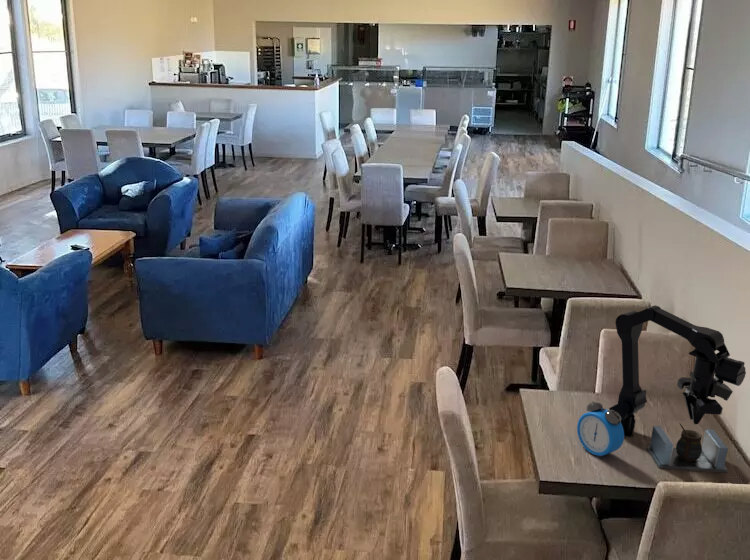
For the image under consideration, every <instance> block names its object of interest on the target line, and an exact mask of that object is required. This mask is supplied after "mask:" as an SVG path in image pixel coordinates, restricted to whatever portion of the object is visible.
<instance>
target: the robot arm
mask: <svg viewBox="0 0 750 560" xmlns="http://www.w3.org/2000/svg"><path fill="white" fill-rule="evenodd" d="M649 321H650V322H653V323H654V324H656V325H658V326H659V327H660V326H661V327H662V328H664V329H666V330H668V331H670V332H673V333H674V334H676V335H678V336H680V337H681V338H684V339H685V340H687V342H688V343H689V344H690V345H691V346H692V347H693V348H694V349H693V350H691V351H688V355H690V356H693V357H695V360H694V366H693V371H692V372H689V377H683V376H682V377H680V378H679V379H678V380H677V383H676V384H677V385H676V386H677V387H678V388H679V390H683V389H684V388H685V392H682V396H683V399H684V402H685V405H686V409H687V413H688V417H689V419H690V420H692V421H693V425H698V424H699V423H700V422H701V420H702V419H703V417H704V415H717V416H718V415H719V416H720V415H722V414H723V410H724V409H723V408H724V407H722V405H721V403H719V402H718V400H716V399H715V397H719V398H721V399H723V400H724V401H728V400H729V399H730V397H731V395H732V394H733V392H734V391H733V390H732V389H731V388H730V386H728V385H726V383H729V384H731V385H734V386H736V387H739V386H741V385H742V383H743V382H744V379H745V378H746V376H747V375H746V373H747V371H746V367H745V361H741V360H736V359H733V358H730V356H731V354H730V352H729V350H728V348H727V346H726V344H725V337H724V335H723V333H721V332H720V331H718V330H716V329H712V328H710V327H706V326H700V325H695V324H692V323H691V322H690V321H688V320H685V319H683V318H681V317H680V316H677V315H674V314H673V313H671V312H669V311H667V310H665V309H663V308H661V307H660V306H659V305H656V304H655V305H652V306H648V307H646V308H645V309H643V310H640V311H636V310H631V311H627V312H624V313H622V314H620V315H618V316H617V317H615V321H614V322H615V324H614V325H615V329H616V334H617V336H618V337H619V339H620V340H621V359H622V361H621V362H622V363H621V364H622V365H621V366H622V387H621V389H620V391H619V394H618V400H617V404H615V405H612V406H610V407H608V408H609V409H608V410H614V411H616V412H618V413H619V414H620V416H621V424H622V426H623V430H624V437H625V436H626V437H627V436H628V437H634V435H635V434H634V431H635V425H636V419H635V415H634V414H637V413H638V412H639V411H640V410H642V409H644V408H645V405H646V403H647V402H648V400H647V390H646V389H642V388H641V386H640V375H639V374H640V373H639V372H640V371H639V369H640V367H639V339H640V337H641V334H642V331H643V326H644V323H646V322H649ZM716 351H718V352H717V353H716ZM724 382H726V383H724ZM709 397H710V398H709ZM712 398H713V399H712Z"/></svg>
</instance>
